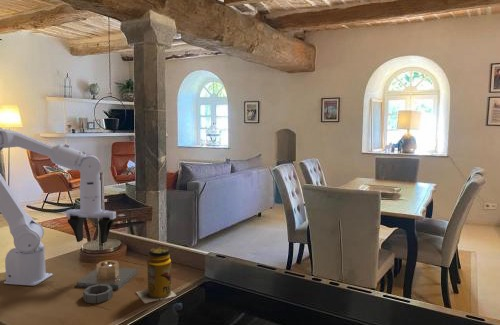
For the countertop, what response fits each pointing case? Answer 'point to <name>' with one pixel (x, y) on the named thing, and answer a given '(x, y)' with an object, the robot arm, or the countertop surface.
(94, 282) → the piston stand
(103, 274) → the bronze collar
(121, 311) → the countertop surface
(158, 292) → the condiment
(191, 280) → the countertop surface
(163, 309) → the countertop surface
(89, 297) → the grey octagonal ring
